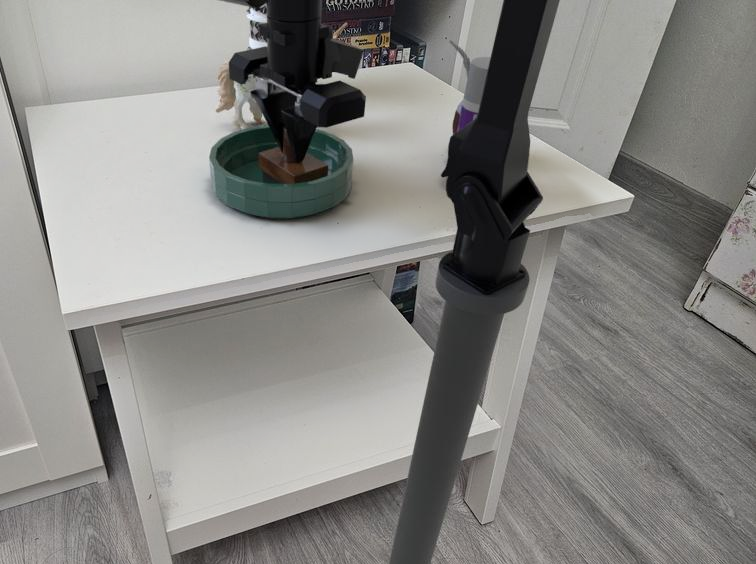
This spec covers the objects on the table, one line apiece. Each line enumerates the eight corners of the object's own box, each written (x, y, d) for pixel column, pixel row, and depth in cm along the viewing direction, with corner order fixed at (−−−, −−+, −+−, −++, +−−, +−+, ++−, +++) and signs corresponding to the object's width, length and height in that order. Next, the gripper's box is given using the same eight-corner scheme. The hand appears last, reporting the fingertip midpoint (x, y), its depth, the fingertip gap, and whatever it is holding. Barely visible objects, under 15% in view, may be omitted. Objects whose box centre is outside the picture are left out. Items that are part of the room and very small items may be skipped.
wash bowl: (378, 195, 80) (382, 161, 77) (262, 237, 72) (261, 201, 69) (296, 146, 91) (297, 114, 88) (187, 178, 83) (184, 145, 80)
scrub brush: (327, 195, 79) (330, 132, 73) (294, 207, 76) (295, 142, 71) (291, 172, 83) (291, 111, 78) (259, 182, 81) (257, 120, 76)
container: (444, 175, 84) (466, 56, 74) (479, 176, 84) (506, 56, 74) (451, 193, 81) (475, 69, 71) (488, 193, 81) (517, 70, 71)
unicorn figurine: (352, 135, 94) (359, 37, 85) (219, 142, 91) (212, 43, 82) (341, 116, 99) (347, 22, 90) (216, 122, 97) (209, 27, 88)
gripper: (412, 23, 64) (394, 168, 75) (303, -13, 76) (301, 117, 86) (325, 42, 59) (319, 194, 70) (222, 0, 71) (230, 136, 81)
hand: (292, 156), depth 77 cm, fingers closed on scrub brush, 2 cm apart
